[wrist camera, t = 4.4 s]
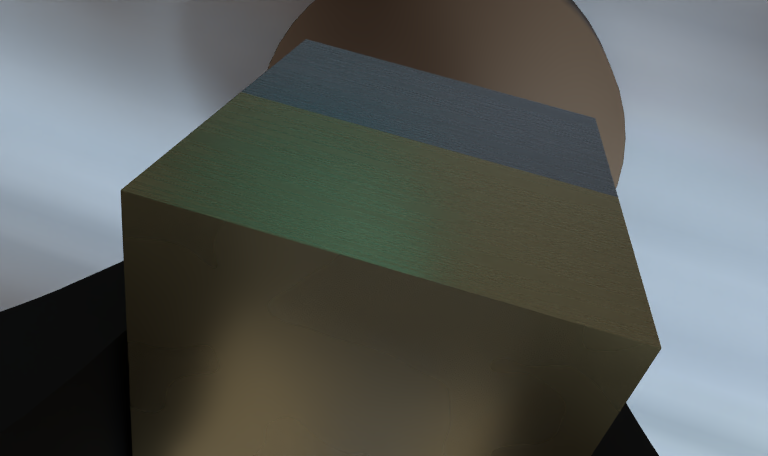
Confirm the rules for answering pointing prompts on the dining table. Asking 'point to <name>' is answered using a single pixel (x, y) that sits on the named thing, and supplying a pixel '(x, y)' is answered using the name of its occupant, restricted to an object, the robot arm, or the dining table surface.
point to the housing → (380, 273)
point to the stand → (482, 50)
